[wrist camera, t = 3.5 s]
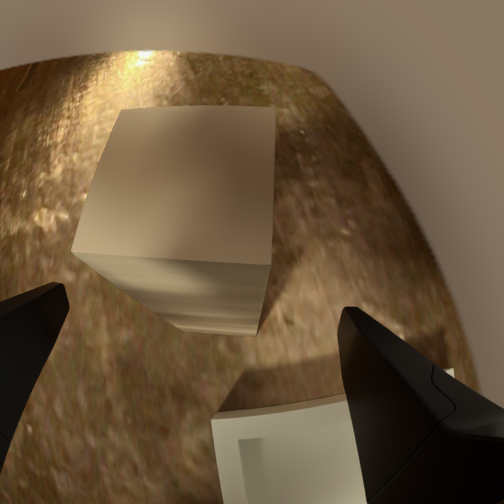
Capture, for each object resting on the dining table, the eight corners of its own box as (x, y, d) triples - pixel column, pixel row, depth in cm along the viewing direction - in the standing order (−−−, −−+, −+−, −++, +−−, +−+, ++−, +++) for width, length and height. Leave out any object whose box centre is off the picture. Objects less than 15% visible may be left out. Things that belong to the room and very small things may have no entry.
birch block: (255, 336, 18) (271, 265, 6) (181, 330, 18) (71, 251, 6) (259, 265, 20) (275, 108, 8) (190, 261, 20) (121, 109, 8)
